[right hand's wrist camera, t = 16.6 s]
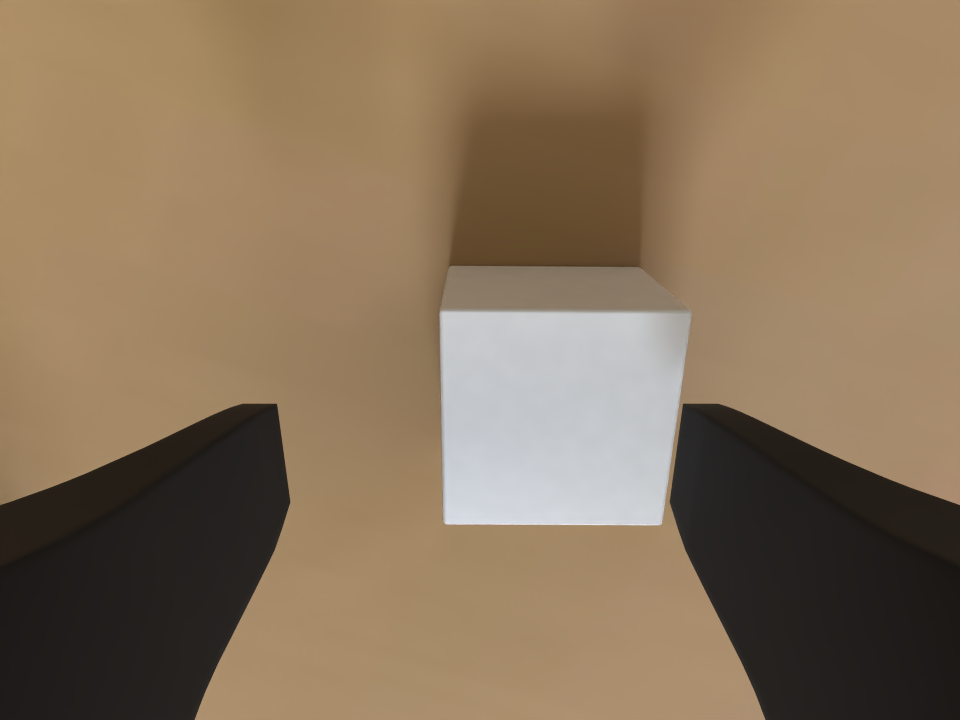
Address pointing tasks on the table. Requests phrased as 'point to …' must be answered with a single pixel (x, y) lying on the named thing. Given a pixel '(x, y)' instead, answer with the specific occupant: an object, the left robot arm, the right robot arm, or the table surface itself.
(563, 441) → the brick
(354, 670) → the table surface
